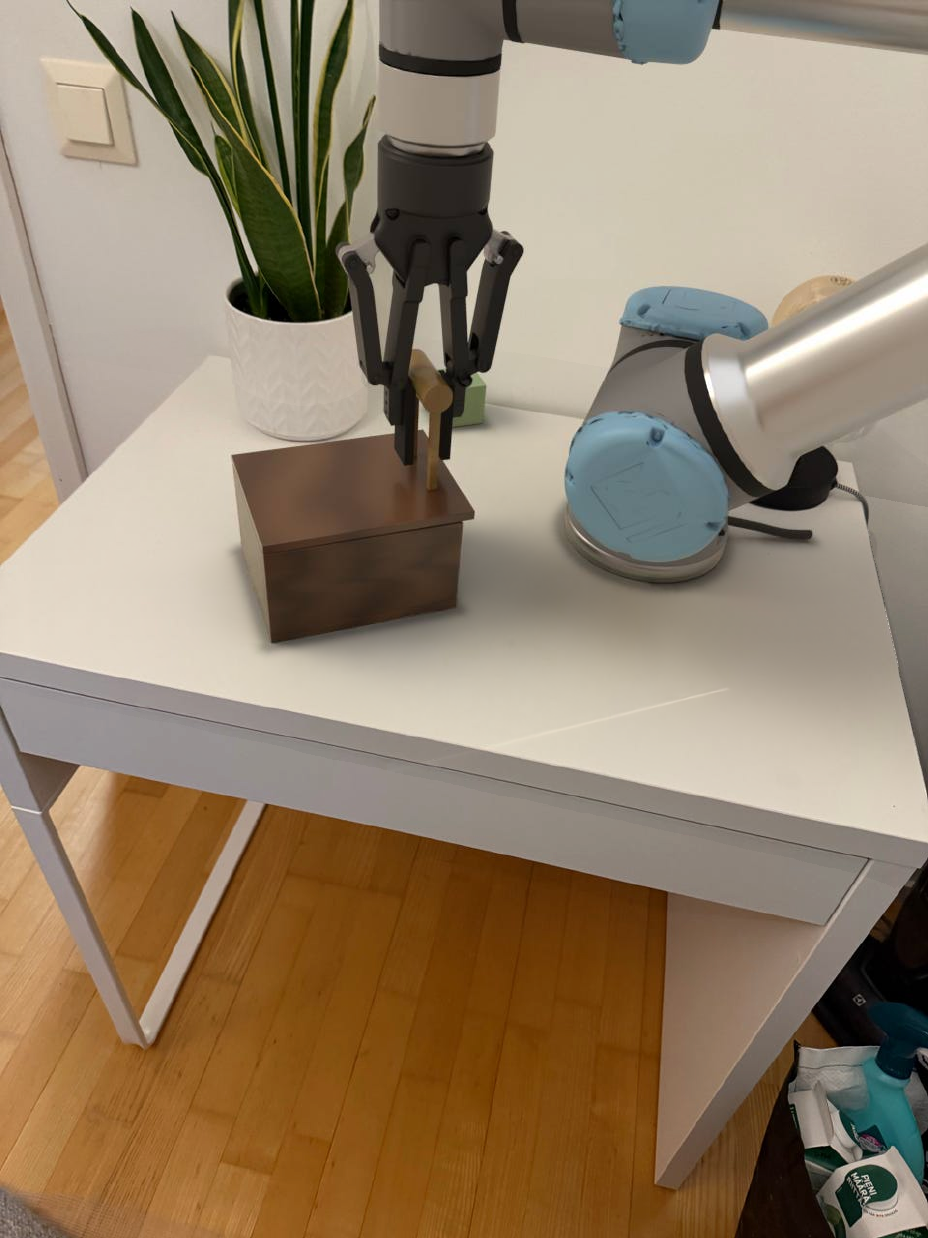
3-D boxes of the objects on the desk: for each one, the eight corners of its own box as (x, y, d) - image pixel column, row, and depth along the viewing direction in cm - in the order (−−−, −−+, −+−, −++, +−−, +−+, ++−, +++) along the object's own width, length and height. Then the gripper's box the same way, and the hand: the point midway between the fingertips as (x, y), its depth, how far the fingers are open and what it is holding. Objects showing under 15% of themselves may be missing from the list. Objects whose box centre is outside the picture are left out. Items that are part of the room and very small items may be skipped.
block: (468, 402, 106) (471, 365, 102) (483, 423, 102) (486, 385, 99) (430, 407, 104) (432, 369, 101) (443, 428, 101) (446, 389, 98)
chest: (410, 521, 88) (413, 439, 82) (456, 607, 79) (463, 522, 73) (241, 548, 83) (231, 463, 77) (271, 643, 74) (262, 555, 68)
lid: (422, 436, 82) (427, 326, 75) (474, 519, 73) (485, 403, 67) (231, 462, 77) (218, 347, 70) (262, 554, 68) (250, 433, 62)
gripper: (523, 119, 65) (493, 419, 80) (303, 124, 60) (317, 442, 76) (569, 151, 60) (527, 465, 75) (333, 160, 55) (340, 493, 71)
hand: (422, 453), depth 75 cm, fingers closed on lid, 2 cm apart
